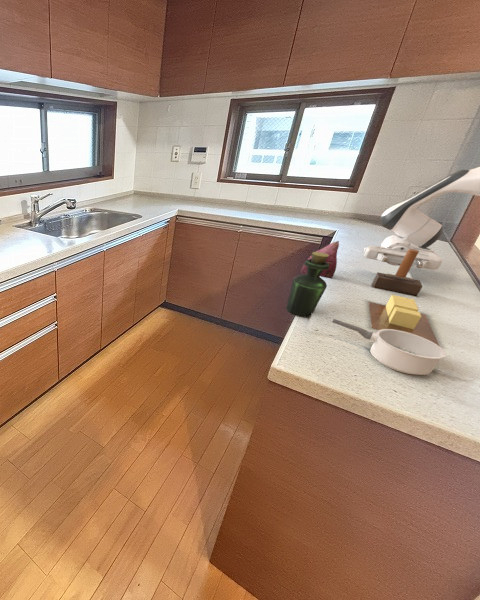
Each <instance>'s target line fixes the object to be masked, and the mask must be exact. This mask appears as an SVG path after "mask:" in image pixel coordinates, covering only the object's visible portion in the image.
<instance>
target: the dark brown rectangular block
mask: <svg viewBox="0 0 480 600" xmlns="http://www.w3.org/2000/svg"><path fill="white" fill-rule="evenodd" d="M386 274H387V273H383V272H376V274H375V276H374V278H373V281H372V283H371V288H373V289H378V290H382V291H387V292H392V293H397V294H402V295H407V296H411V297H418V295H419V294H420V292H421V291H422V288H423V284H422V282H421V280H420V279H415V278H414V281H413V282H411V281H405V280H400V279H395V278H390V277H385V276H386Z"/></svg>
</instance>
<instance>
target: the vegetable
mask: <svg viewBox="0 0 480 600" xmlns="http://www.w3.org/2000/svg"><path fill="white" fill-rule="evenodd" d="M339 246H340V241H339V240H337V241H333V242H331V243H329V244H328V245H326V246H324V247H322V248H320V249H318V250H316V251H315V252H321V253H325V254H328V255H329V257H328V258H327V260H326V261H325V262H327V263H328V264H329V269H327V270H323V271H322V273H321V274H320V275H319V277H320V278H326V279H330V280H331V279H333V277H334V275H335V273H336V269H337V263H338V257H337V255H338V250H339ZM308 259H312V254H311V255H310V256H309V257H308V258H307V259H306V260H308ZM300 273H301V274H302V275H303V274H307V266H305V265H304V264H303V265H302V267H301V270H300Z"/></svg>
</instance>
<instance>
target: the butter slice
mask: <svg viewBox="0 0 480 600" xmlns="http://www.w3.org/2000/svg"><path fill="white" fill-rule="evenodd" d="M421 314H422V313H421V312H420V311H418V312H416V311H412V310H408V309H403V308H399V307H395V308H394V310H393V311H392V313H391V315H390V317H389V323H390V324H394V325H398V326H402V327H406V328H410V329H414V328H415V327H416V325H417V323H418V322H419V320H420V318H421Z"/></svg>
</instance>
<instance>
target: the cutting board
mask: <svg viewBox="0 0 480 600" xmlns="http://www.w3.org/2000/svg"><path fill="white" fill-rule="evenodd" d="M368 309H369V316H370V325H371V329H373V330H377V331H379V330H382V329H393V330H399V331H404V332H408V333H411V334H415V335H417V336H420V337H423V338H425V339H427V340H429V341H431V342H433V343H435V344H437V345H438V346H439V347H440V344H439V342H438V340H437V337H436V335H435V333H434V331H433V329H432V326H431V323H430V322H429V318H428V317H427V315H426V314H425V313H420V314H421V318H420V320H419V322H418V323H417V325H416V327H415V328H414V329H410V328H406V327H402V326H398V325H394V324H390V323H389V317H388V315H387V310H386V305H384V304H382V303H381V304H380V303H376V302H372V301H368Z"/></svg>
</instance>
